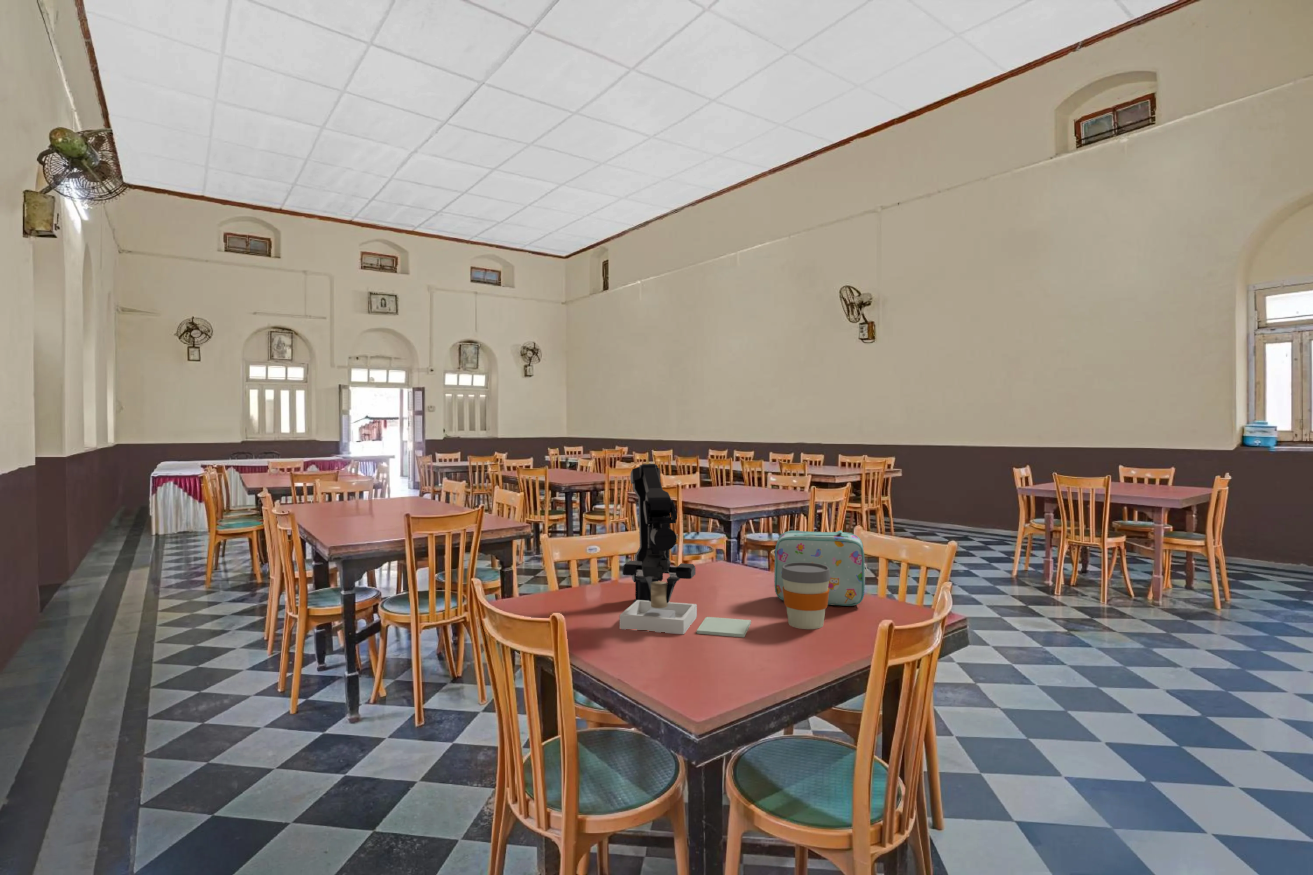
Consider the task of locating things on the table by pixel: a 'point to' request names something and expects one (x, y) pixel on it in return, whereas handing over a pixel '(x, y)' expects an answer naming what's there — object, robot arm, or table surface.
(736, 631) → the green pad
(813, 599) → the reusable coffee cup
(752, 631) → the table surface
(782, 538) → the lunch box
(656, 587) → the birch cylinder
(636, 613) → the tray
